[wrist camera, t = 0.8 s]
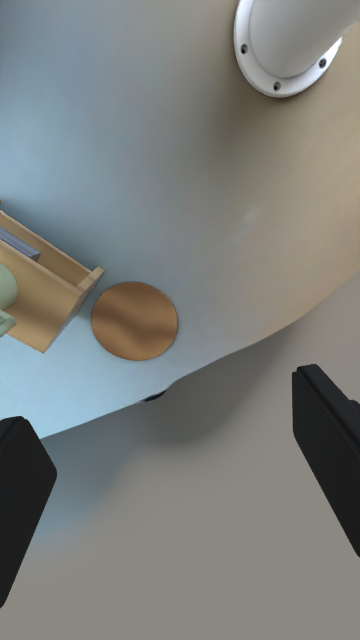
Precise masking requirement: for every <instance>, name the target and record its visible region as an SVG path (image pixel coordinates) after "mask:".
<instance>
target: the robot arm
mask: <svg viewBox="0 0 360 640" xmlns="http://www.w3.org/2000/svg"><path fill="white" fill-rule="evenodd" d="M358 21H360V0H239V3H238V7H237V10H236V16H235V22H234V46H235V54H236V57H237V61H238V64H239V67H240V69H241V71H242V73H243V75H244V77H245V78H246V79H247V81H248V82H249V83H250V85H252V86H253V87H254V88H255V89H256V90H257V91H259V92H261V93H263V94H265V95H267V96H271V97H288V96H292V95H295V94H297V93H299V92H301V91H303V90H305V89H306V88H308V87H309V86H310V85H312V84H313V83H314V82H315V81H316V80H317V79H318V78H319V77H320V76H321V75H322V74H323V73H324V72H325V71H326V69H327V68H328V67H329V65H330V63H331V62H332V60H333V58H334V57H335V55H336V52H337V50H338V48H339V46H340V43H341V40H342V37H343V36H344V35H345V34H346V33H347V32H348V31H349V30H350V29H351V28H352V27H353V26H354V25H355V24H356V23H357V22H358ZM242 50H243V51H244V54H242V53H241V51H242ZM319 65H320V68H319ZM274 87H276V91H275V90H274ZM292 408H293V432H294V437H295V439H296V441H297V443H298V445H299V447H300V449H301V451H302V453H303V455H304V456H305V458H306V460H307V462H308V464H309V466H310V468H311V470H312V471H313V473H314V475H315V477H316V479H317V481H318V483H319V485H320V486H321V488H322V490H323V492H324V494H325V496H326V498H327V500H328V502H329V503H330V505H331V507H332V509H333V511H334V513H335V514H336V516H337V519H338V520H339V522H340V524H341V526H342V528H343V530H344V532H345V533H346V536H347V537H348V539H349V541H350V543H351V545H352V547H353V549H354V550H355V552H356V554H357V555H358V556H359V557H360V404H359V403H358V402H357V401H354V400H349V399H348V398H347V397H346V396H345V395H344V394H343V393H342V391H341V390H340V389H339V388H338V387H337V386H336V385H335V384H334V383H333V382H332V380H331V379H330V378H329V377H328V376H327V375H326V374H325V373H324V372H323V371H322V369H321V368H320V367H319V366H317V365H316V364H311V365H305V366H300V367H297V371H296V372H293V373H292ZM56 478H57V470H56V468H55V466H54V464H53V462H52V461H51V459H50V457H49V455H48V454H47V452H46V450H45V448H44V447H43V445H42V443H41V442H40V440H39V438H38V436H37V434H36V433H35V431H34V429H33V427H32V426H31V424H30V422H29V421H28V420H27V419H24V417H22V416H16V417H11V418H5V419H2V420H1V421H0V608H1V607H2V606H3V605H4V603H5V601H6V599H7V597H8V595H9V592H10V589H11V587H12V585H13V582H14V580H15V578H16V575H17V573H18V570H19V568H20V566H21V563H22V561H23V558H24V556H25V553H26V551H27V549H28V546H29V544H30V541H31V539H32V537H33V534H34V532H35V529H36V527H37V525H38V522H39V520H40V517H41V515H42V512H43V510H44V508H45V505H46V503H47V500H48V498H49V496H50V493H51V491H52V488H53V486H54V483H55V481H56Z"/></svg>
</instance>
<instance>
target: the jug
mask: <svg viewBox="0 0 360 640" xmlns="http://www.w3.org/2000/svg"><path fill="white" fill-rule="evenodd" d="M17 295H18V286H17V283H16V280H15V278H14V276H13V274H12V273H11V272H10V270H9V269H8V268H7V267H5V266H4V265H3V264H2V263H0V338H1V337H2V336H3V335H5V334H6V333H7V332H8V331H10V330H11V329H12V328H13V327H14V326H15V325H16V323H17V322H16V320H15V319H14V317H13V316H11V315H9V314H7V313H6V312H4V310H5V309H7V308H8V307H10V306H11V305H12V304H13V303H14V302H15V300H16V298H17Z"/></svg>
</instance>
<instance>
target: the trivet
mask: <svg viewBox="0 0 360 640" xmlns="http://www.w3.org/2000/svg"><path fill="white" fill-rule="evenodd" d="M91 326H92V330H93V333H94V335H95V337H96V339H97V340H98V342H99V343H100V344H101V345H102V346H103V347H104V348H105V349H106V350H107V351H108V352H110V353H111V354H113V355H115V356H117V357H120V358H123V359H126V360H133V361H140V360H147V359H151V358H154V357H156V356H158V355H160V354H161V353H163V352H164V351H165V350H166V349H167V348H168V347H169V346H170V345H171V344H172V342H173V340H174V339H175V336H176V333H177V328H178V320H177V314H176V311H175V308H174V306H173V304H172V303H171V301H170V300H169V298H168V297H167V296H166V295H165V294H164V293H162V292H161V291H160V290H158V289H156V288H155V287H153V286H150V285H148V284H144V283H140V282H124V283H120V284H117V285H114V286H112V287H110V288H108V289H107V290H106V291H104V292H103V293H102V294H101V295H100V296H99V298H98V299H97V300H96V302H95V304H94V306H93V309H92V313H91Z"/></svg>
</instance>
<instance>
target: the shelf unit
mask: <svg viewBox="0 0 360 640" xmlns="http://www.w3.org/2000/svg"><path fill="white" fill-rule="evenodd" d="M1 201H2V200H1V199H0V204H1ZM0 263H2V264H3V265H4V266H5V267H7V268H8V269H9V270H10V272H11V273H12V274H13V276H14V278H15V280H16V283H17V286H18V295H17V298H16V300H15V302H14V303H13V304H12V305H11V306H10V307H8V308H7V309H5V310H4V312H6V313H7V314H9V315H11V316H13V317H14V319H15V320H16V322H17V323H16V325H15V326H14V327H13V328H12V329H11V330H10V331H8V332H7V333H6V334H8V335H10V336H12V337H14V338H15V339H17V340H19V341H21V342H23V343H25V344H27V345H28V346H30V347H32V348H34V349H36V350H38V351H39V352H41V353H43V354H44V353H45V351H46V350H47V349H48V348H49V346H50V345H51V344H52V343H53V342H54V340H55V339H56V338H57V337H58V336H59V335H60V333H61V332H62V331H63V330H64V329H65V327H66V326H67V325H68V324H69V323H70V321H71V320H72V319H73V318H74V317H75V315H76V314H77V312H78V311H79V309H80V308H81V306H82V305H83V303H84V301H85V300H86V298H87V297H88V295H89V294H90V292H91V291H92V289H93V288H94V286H95V285H96V283H97V282H98V280H99V279H100V277H101V275H102V274H103V272H104V271H105V270H104V269H102V268H101V267H99V266H98V267H97V268H96V269H94V270H93V271H91V270H89V269H88V268H86V267H85V266H83V265H82V264H80V263H79V262H77V261H76V260H74V259H73V258H71V257H70V256H68V255H67V254H65V253H64V252H62V251H61V250H59V249H58V248H56V247H55V246H53V245H52V244H50V243H49V242H47V241H46V240H44V239H43V238H41V237H40V236H38V235H37V234H35V233H34V232H32V231H31V230H30V229H28V228H27V227H25V226H24V225H22V224H21V223H19V222H18V221H16V220H15V219H13V218H12V217H10V216H9V215H7V214H6V213H4V212H3V211H1V210H0Z"/></svg>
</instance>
